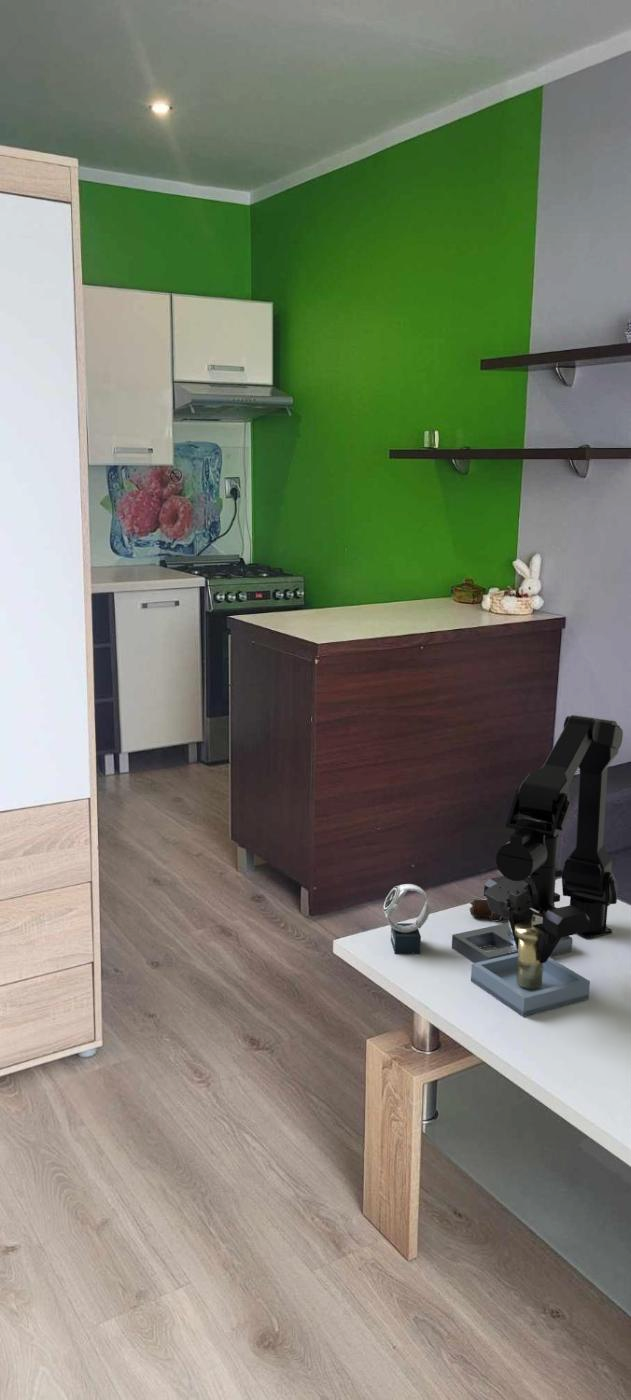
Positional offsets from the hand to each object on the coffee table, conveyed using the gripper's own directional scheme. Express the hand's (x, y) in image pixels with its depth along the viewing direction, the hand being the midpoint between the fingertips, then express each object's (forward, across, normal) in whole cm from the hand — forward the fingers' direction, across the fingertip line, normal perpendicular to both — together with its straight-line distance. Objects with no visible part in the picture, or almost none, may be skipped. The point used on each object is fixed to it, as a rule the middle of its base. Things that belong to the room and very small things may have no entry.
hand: (531, 955), depth 167 cm
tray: (+6, 0, 0) cm, 6 cm away
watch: (+6, -22, -9) cm, 25 cm away
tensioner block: (+6, -13, +7) cm, 16 cm away
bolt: (+6, -24, +16) cm, 30 cm away
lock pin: (+4, 0, 0) cm, 5 cm away
